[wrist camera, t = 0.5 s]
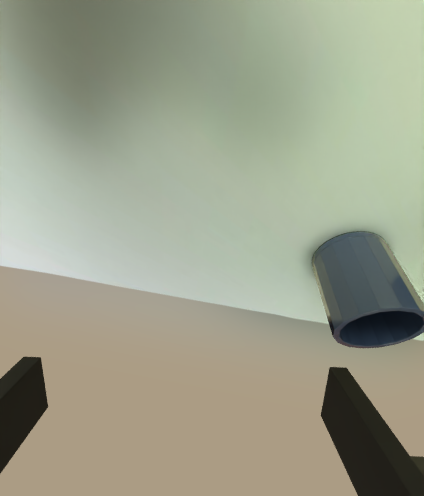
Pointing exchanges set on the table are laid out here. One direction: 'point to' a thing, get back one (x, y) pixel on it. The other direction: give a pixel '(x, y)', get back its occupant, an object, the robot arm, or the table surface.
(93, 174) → the table surface
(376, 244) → the cup
